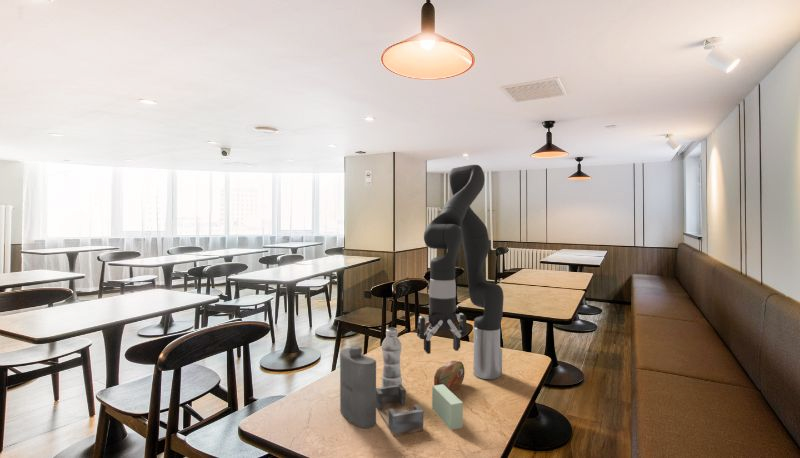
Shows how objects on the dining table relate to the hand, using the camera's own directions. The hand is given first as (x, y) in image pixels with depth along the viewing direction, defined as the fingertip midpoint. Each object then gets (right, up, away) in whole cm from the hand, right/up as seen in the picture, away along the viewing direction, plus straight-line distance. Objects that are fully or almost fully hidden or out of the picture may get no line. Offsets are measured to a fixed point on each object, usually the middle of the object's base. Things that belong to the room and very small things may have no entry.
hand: (442, 351), depth 109 cm
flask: (-24, -19, 0) cm, 31 cm away
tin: (+4, -18, +18) cm, 26 cm away
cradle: (-13, -19, 0) cm, 23 cm away
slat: (+1, -19, 0) cm, 19 cm away
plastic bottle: (-15, -18, +17) cm, 29 cm away
